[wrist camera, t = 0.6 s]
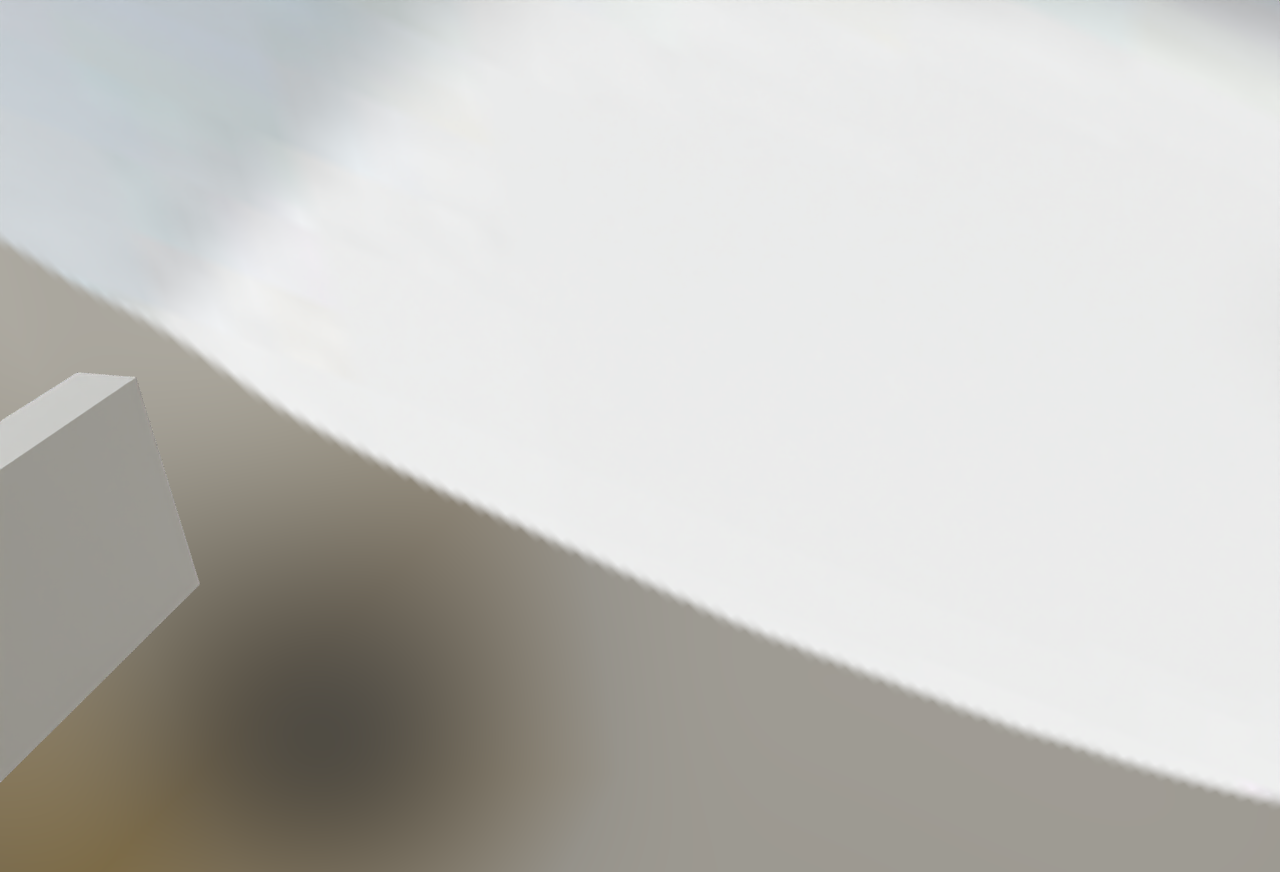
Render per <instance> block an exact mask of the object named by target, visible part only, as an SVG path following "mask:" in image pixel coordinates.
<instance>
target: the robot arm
mask: <svg viewBox="0 0 1280 872" xmlns="http://www.w3.org/2000/svg"><path fill="white" fill-rule="evenodd" d="M199 584H200V583H199V580H198V577H197V574H196V570H195V567H194V564H193V561H192V557H191V554H190V551H189V547H188V544H187V541H186V538H185V534H184V531H183V528H182V525H181V521H180V518H179V515H178V512H177V508H176V505H175V502H174V499H173V496H172V492H171V489H170V486H169V483H168V479H167V476H166V473H165V470H164V466H163V463H162V460H161V457H160V453H159V450H158V447H157V444H156V440H155V437H154V434H153V430H152V427H151V424H150V421H149V418H148V414H147V411H146V408H145V405H144V401H143V398H142V395H141V392H140V388H139V385H138V382H137V379H136V377H127V376H114V375H102V374H89V373H76V374H74V375H73V376H71V377H69V378H68V379H66V380H65V381H63V382H61V383H60V384H58V385H57V386H55V387H54V388H52V389H51V390H49V391H47V392H46V393H44V394H42V395H41V396H39V397H38V398H36V399H35V400H33V401H31V402H30V403H28V404H27V405H25V406H23V407H22V408H20V409H19V410H17V411H16V412H14V413H12V414H11V415H10V416H8V417H6V418H4V419H3V420H1V421H0V782H1V781H2V780H3V779H4V778H5V777H6V776H7V775H8V774H9V773H10V772H11V771H12V770H13V769H14V768H15V767H16V766H17V765H18V764H19V763H20V762H21V761H22V760H23V759H24V758H25V757H26V756H27V755H28V754H29V753H30V752H31V751H32V750H33V749H34V748H35V747H36V746H37V745H38V744H39V743H40V742H41V741H42V740H43V739H44V738H45V737H47V736H48V735H49V733H51V732H52V731H53V730H54V729H55V728H56V727H57V726H58V725H59V724H60V723H61V721H63V720H64V719H65V718H66V717H67V716H68V715H69V714H70V713H71V712H72V711H73V710H74V709H75V708H76V707H77V706H78V705H79V704H80V702H81V701H83V700H84V699H85V698H86V697H87V696H88V695H89V694H90V693H91V692H92V691H93V690H94V689H95V688H96V687H97V686H98V685H99V684H100V683H101V682H102V681H103V680H104V679H105V678H106V677H107V676H108V675H109V674H110V673H111V672H112V671H113V670H114V669H115V668H116V667H117V666H118V665H119V664H120V663H121V662H122V661H123V660H124V659H125V658H126V657H127V656H128V655H129V654H130V653H131V652H132V651H133V650H134V649H135V648H136V647H137V646H138V645H139V644H140V643H141V642H142V641H143V640H144V639H145V638H146V637H147V636H148V635H149V634H150V633H151V632H152V631H153V630H154V629H155V628H156V627H157V626H158V625H159V624H160V623H161V622H162V621H163V620H164V619H165V618H166V617H167V616H168V615H169V614H170V613H171V612H172V611H173V610H174V609H175V608H176V607H177V606H179V604H180V603H182V601H183V600H185V599H186V597H187V596H188V595H189V594H191V593H192V592H193V591H194V590H195V588H197V587H198V586H199Z"/></svg>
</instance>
